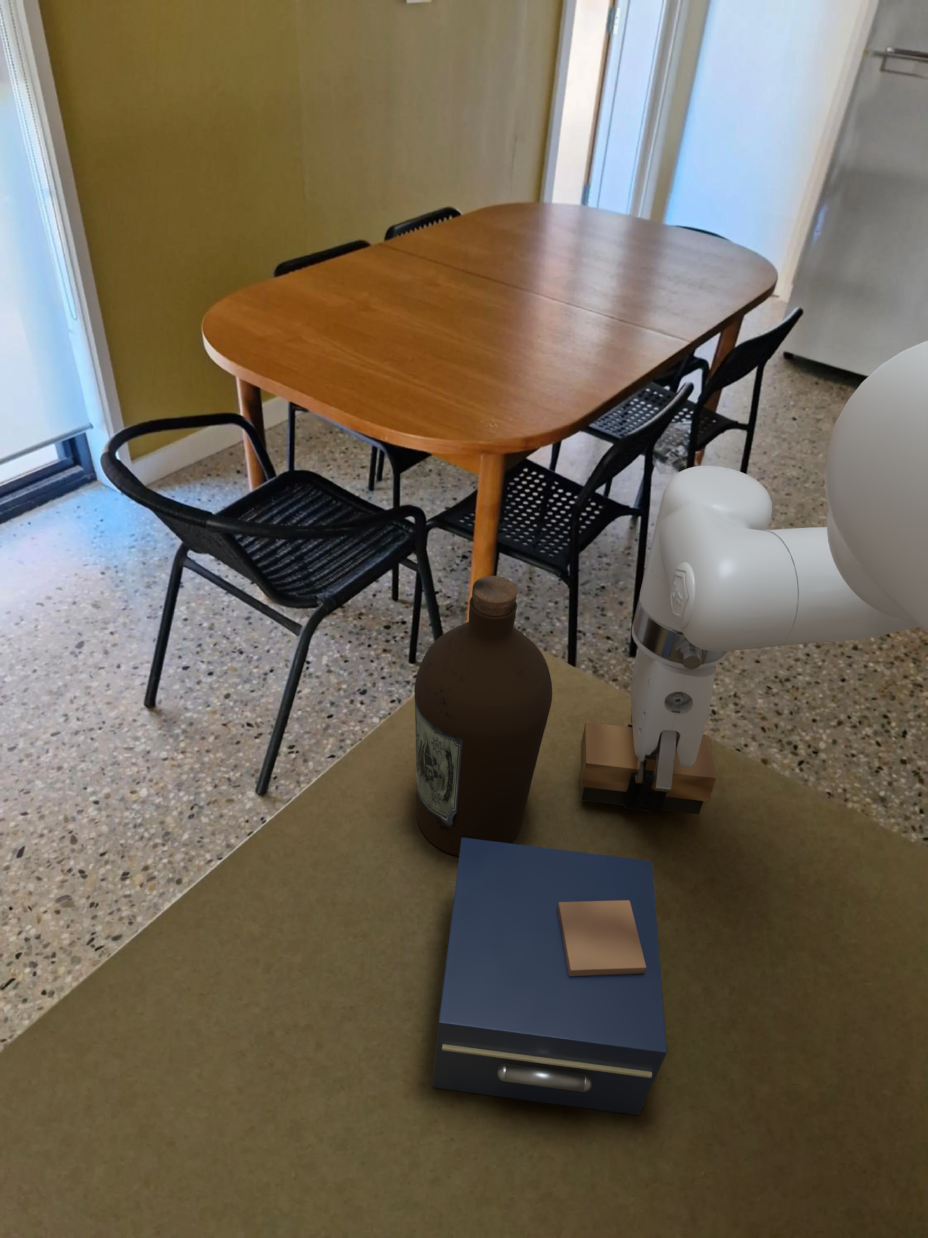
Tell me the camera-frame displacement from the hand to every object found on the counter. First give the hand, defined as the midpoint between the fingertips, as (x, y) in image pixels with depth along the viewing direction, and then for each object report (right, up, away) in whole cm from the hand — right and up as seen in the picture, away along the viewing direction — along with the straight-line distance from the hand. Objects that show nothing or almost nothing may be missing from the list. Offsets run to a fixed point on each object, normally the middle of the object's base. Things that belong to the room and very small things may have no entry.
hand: (640, 781), depth 79 cm
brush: (0, -1, +1) cm, 1 cm away
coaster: (-7, -7, -20) cm, 22 cm away
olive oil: (-15, -3, -1) cm, 16 cm away
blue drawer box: (-10, -14, -14) cm, 22 cm away
